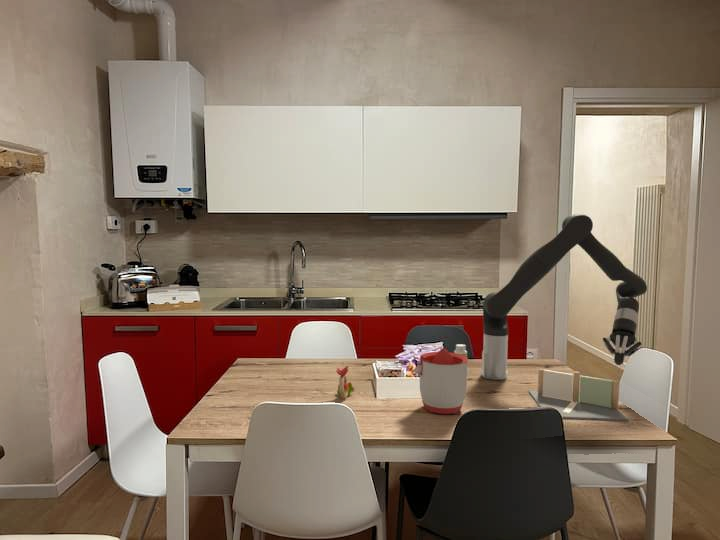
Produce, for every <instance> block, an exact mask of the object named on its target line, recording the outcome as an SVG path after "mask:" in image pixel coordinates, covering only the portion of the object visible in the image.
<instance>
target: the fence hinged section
mask: <svg viewBox="0 0 720 540" xmlns="http://www.w3.org/2000/svg"><path fill="white" fill-rule="evenodd" d="M579 392H580V395H579V402H583V403H588V404H594V405H599V406H604V407H610V408H613V409H617V410H618V409H619V401H620V400H619V398H620V381H618V380H611V379H606V378H599V377H593V376H588V375H587V376H586V375H580V383H579Z"/></svg>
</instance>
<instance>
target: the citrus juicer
mask: <svg viewBox="0 0 720 540" xmlns="http://www.w3.org/2000/svg"><path fill="white" fill-rule="evenodd" d="M419 356H420V357H419V365H416V366H415V367H414V370H413V374H414V375H416V374H419V390H420V391H419V392H420V397H421V400H422V401H421V402H422V404H423V407H424V409H425V410H427V411H428V412H430V413H432V412H434V413H433V414H440V415H450V414H451V413H452V414H456V413H455V412H457V413H458V412H460V411H461V409H462V407H463V405H464V402H465V399H466V398H465V397H466V393H467V386H468V382H467V381H468V362H469V358H468V356H467V357H466V356H464V355H461V354H456V353H454V352H449V351H448V350H447V349H446V348H444V347H443V348H441V349H440V350H439V351H431V352H430V351H429V352H424V353H422V354H421V355H419Z"/></svg>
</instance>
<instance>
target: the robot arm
mask: <svg viewBox="0 0 720 540" xmlns="http://www.w3.org/2000/svg"><path fill="white" fill-rule="evenodd" d="M593 224H594V223H593V220H592V218H591V217H590V216H589V215H586V214H582V213H581V214H580V213H579V214H577V213H576V214H571V215H568V216H566V217H565V218H564V220H563V221H562V224H561V230H560V231H559V233H558V234H556V236H554V237H553V238H552V239H551V240H550V241H548V242H546V243H545V244H543V245H542V246H540V247H539V248H538V249H536V250H535V251H533V253H531V255H530V256H528V257H527V258H526V259H525V260H524V262H522V264H521V265H520V266H519V268H518V269H517V270H516V271H515V273H514V275H513V277H511V280H509V282H508V283H507V284H506V285H504V287H502V289H500V290H499V291H495V292H494V291H493V292H490V293H488V294H487V295H486V296H485V297H484V300H483V305H482V306H483V307H482V325H483V346H482V347H483V348H482V349H483V350H482V351H481V376H482V377H483V379H488V380H493V381H494V380H495V381H501V380H503V381H504V380H506V379H507V375H508V347H509V345H508V341H509V326H508V314H509V313H510V312H511V310H512V309H513V308H514V307H515V306H516V305H517V304H518V302H519V301H520V299H521V298H522V297H523V296H525V294H526V293H528V292H529V291H530V290H531V289H533V288H534V287H535V286H536V285H537V284H538V283H539V282H540V281H542V279H544V277H545V276H547V275H548V273H550V272H551V271H552V270H553V268H554V267H555V266H556V265H557V264H559V262H561V260H562V259H563V258H564V257H565V256H566V255H567V254H568V253H569V252H570V250H572V249H573V248H575V246H579V247H580V248H581V249H582V250H583V251H584V252H585V253H586V254H587V255H588V256H589V257H590V258H591V259H592V260H593V262H594V263H595V264H596V265H597V266H598V267H599V268H600V270H601V271H602V272H603V273H604V274H605V276H606V277H608V279H609V280H611V281H612V282H617V281H622V282H619V284H617V286H616V287H615V295H616V300H617V308H616V312H615V315H614V318H613V319H614V321H613V325H612V330H611V333H610V335H609V337H603V338H602V343H603V344H604V346H605V347H606V349H607V350H608V352H609V353H610V354H612V355H614V358H613V361H614V363H615V365H616V366H621V365H623V364H624V362H625V357H626V356H627V357H631V356H632V355H634V354H635V353H636V352H638V351H640V350H641V349H642V348H643V347H642V342H641V341H638V340H637V337H636V333H637V327H638V322H639V321H638V320H639V319H638V318H639V317H638V316H639V315H638V314H639V309H640V302H639V301H638V300H637V299H636V298H637V297H639V296H640V297H641V296H642V295H645V294H646V293H647V290H648V285H647V282H646V281H645V280H644V278H642V277H641V276H640V275H639V274H637V273H636V272H634V271H632V270H631V269H629V268H627V267H626V265H624V264H623V262H622V261H621V260H620V259H619V258H618V257H617V256H616V255H615V254H614V253H613V252H612V251H611V250H610V249H609V248H607V247H606V246H605V245H603V244H602V242H600V241H599V240H598V239H597V238H596V237H595V236H594V234H593V233H592V230H593V227H594V225H593ZM612 344H613V345H612ZM613 346H614V347H615V348H614V347H613Z"/></svg>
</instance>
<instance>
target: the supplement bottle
mask: <svg viewBox="0 0 720 540" xmlns="http://www.w3.org/2000/svg"><path fill="white" fill-rule="evenodd" d="M453 353H456V354H461V355H464V356H466V357H467V358H468V351H467V350H466V344H462V343H461V344H460V343H459V344H458V343H457V344H455V349H454V350H453Z"/></svg>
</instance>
